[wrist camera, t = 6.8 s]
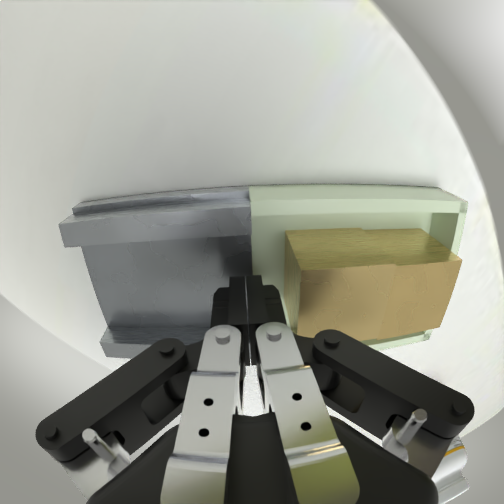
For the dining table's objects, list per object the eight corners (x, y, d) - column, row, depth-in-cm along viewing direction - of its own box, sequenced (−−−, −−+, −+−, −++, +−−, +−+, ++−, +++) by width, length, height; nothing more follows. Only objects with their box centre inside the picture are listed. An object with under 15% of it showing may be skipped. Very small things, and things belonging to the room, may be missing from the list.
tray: (254, 332, 17) (257, 365, 15) (248, 185, 13) (250, 201, 11) (410, 314, 18) (428, 339, 15) (438, 187, 14) (468, 202, 11)
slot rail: (119, 334, 17) (108, 360, 15) (81, 202, 13) (57, 218, 11) (254, 332, 17) (257, 361, 15) (248, 185, 13) (250, 199, 11)
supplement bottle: (388, 425, 25) (420, 515, 14) (364, 411, 23) (400, 523, 11) (437, 392, 23) (481, 481, 12) (422, 373, 21) (477, 482, 10)
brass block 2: (351, 294, 16) (376, 340, 12) (360, 229, 14) (396, 266, 10) (407, 288, 16) (439, 327, 12) (420, 228, 14) (462, 259, 11)
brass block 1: (283, 298, 16) (295, 349, 12) (284, 230, 14) (301, 270, 10) (351, 292, 16) (377, 338, 12) (360, 227, 14) (396, 263, 10)
